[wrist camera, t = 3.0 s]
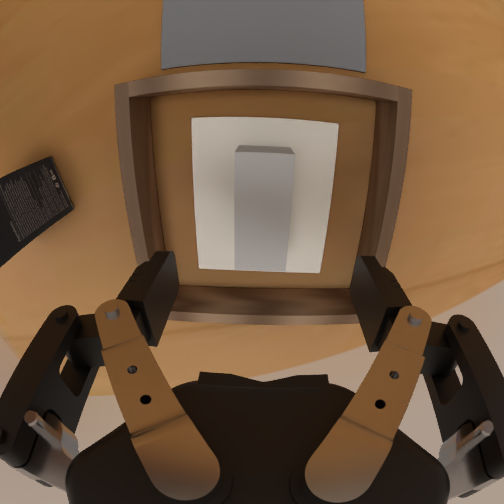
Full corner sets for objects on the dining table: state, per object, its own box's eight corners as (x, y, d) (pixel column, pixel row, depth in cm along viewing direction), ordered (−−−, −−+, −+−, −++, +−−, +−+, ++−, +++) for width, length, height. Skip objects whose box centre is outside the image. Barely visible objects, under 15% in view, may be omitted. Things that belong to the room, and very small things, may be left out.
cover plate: (201, 262, 24) (191, 290, 20) (194, 117, 18) (179, 120, 15) (317, 266, 24) (326, 295, 20) (335, 122, 18) (351, 127, 14)
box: (51, 153, 18) (-38, 197, 9) (76, 208, 21) (-2, 273, 12) (11, 189, 20) (-60, 236, 11) (33, 235, 23) (-30, 293, 13)
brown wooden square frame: (163, 293, 25) (151, 318, 22) (137, 86, 16) (114, 85, 13) (357, 297, 24) (367, 322, 21) (389, 90, 16) (412, 89, 13)
